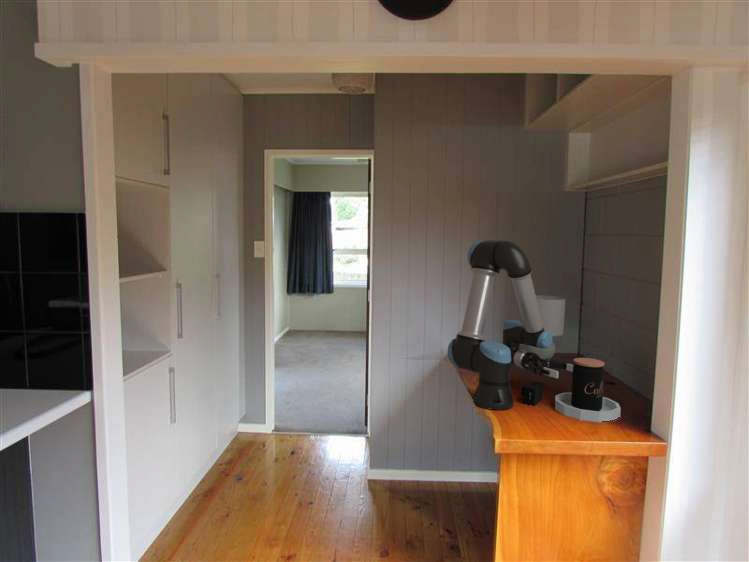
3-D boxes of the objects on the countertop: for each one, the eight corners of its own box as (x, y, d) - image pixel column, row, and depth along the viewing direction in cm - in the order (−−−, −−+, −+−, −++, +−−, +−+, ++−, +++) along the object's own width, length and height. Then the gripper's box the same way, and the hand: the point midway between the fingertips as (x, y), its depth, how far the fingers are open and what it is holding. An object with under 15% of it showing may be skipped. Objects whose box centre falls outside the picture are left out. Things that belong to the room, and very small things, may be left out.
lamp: (516, 359, 253) (519, 294, 250) (554, 360, 252) (557, 295, 249) (526, 369, 233) (530, 299, 230) (567, 371, 232) (571, 300, 229)
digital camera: (528, 396, 191) (529, 380, 190) (542, 399, 188) (543, 382, 187) (520, 403, 183) (520, 386, 182) (534, 406, 179) (534, 388, 179)
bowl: (602, 426, 160) (603, 416, 160) (543, 408, 177) (544, 399, 177) (629, 413, 174) (630, 403, 174) (572, 397, 191) (573, 389, 191)
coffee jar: (584, 414, 169) (586, 365, 168) (564, 404, 179) (567, 358, 178) (608, 412, 172) (611, 363, 171) (588, 402, 182) (590, 357, 181)
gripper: (547, 365, 206) (589, 378, 188) (505, 372, 194) (546, 386, 176) (547, 349, 206) (590, 359, 187) (506, 354, 194) (547, 366, 175)
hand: (569, 372), depth 182 cm, fingers open, 13 cm apart
